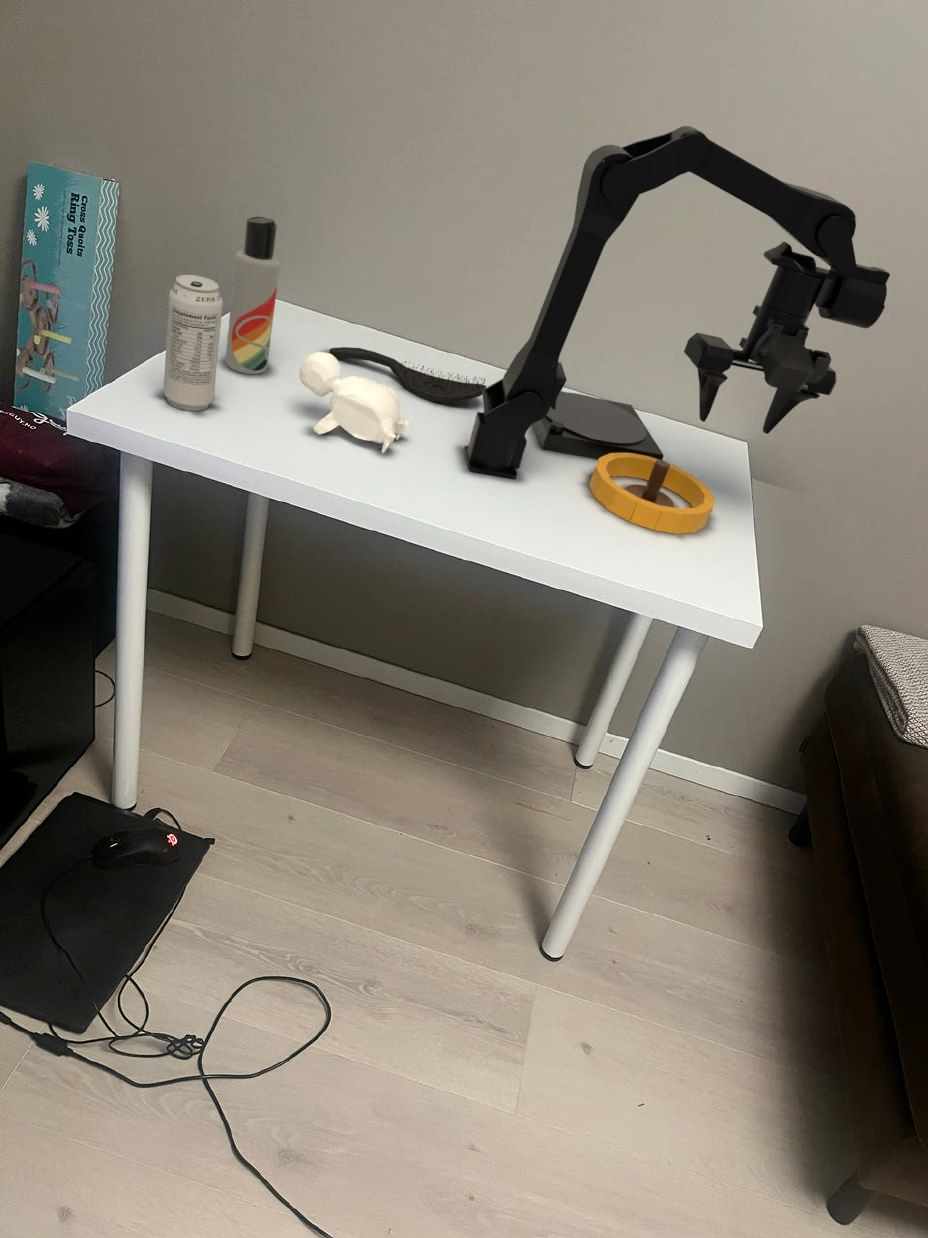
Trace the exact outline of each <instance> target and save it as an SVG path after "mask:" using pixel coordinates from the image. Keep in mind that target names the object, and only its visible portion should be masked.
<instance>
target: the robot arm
mask: <svg viewBox="0 0 928 1238" xmlns="http://www.w3.org/2000/svg"><path fill="white" fill-rule="evenodd" d="M687 173H691V174H693V175H695V176H696V177H699V178H700V179H702V180H704V181H706V182H708V183H709V184H711V185H712V186H715V187H716V188H718V189H720V190H721V191H724V192H725V193H727V194H729V195H731V196H732V197H734V198H736V199H738V200H739V201H741V202H743V203H744V204H747V205H748V206H750V207H751V208H754V210H755V209H756V210H757V211H759V212H760V213H762V214H765V215H767V216H768V217H769V218H770V220H772V221H773V222H774V223H775V224H776V225H777V226H779V228H780V229H782V230H783V231H784V232H785V233H786V234H787V235H788V236H790V237H791V238H792V239H793V240H794V241H795V242H797V243H798V244H799V245H800V246H802V247H803V248H805V249H806V250H807V251H809V252H810V253H811V254H813V255H814V256H815V257H817V258H818V259H820V260H821V261H822V262H824V263H825V264H827V266H829V269H828V268H823V267H821V266H817V263H816V259H815V258H814V257H813V256H811V255H807V254H803V253H799V252H796V251H793V248H792V245H791V244H789V243H788V242H786V241H781V243H780V244H778V245H777V246H775V247H772V248H770V249H768V250H765V251H764V253H763V258H764V259H765V260H767V261H768V262H769V263H770V264H771V265H773V266H777V267H776V269H775V271H774V274H773V276H772V279H771V280H770V283H769V285H768V288H767V290H766V293H765V296H764V297H763V300H762V302H761V305H758V304H755V305H754V308H753V311H752V314H753V315H754V317H755V319H754V321H753V323H752V325H751V328H750V330H749V333H748V335H747V336H746V337H741V339H740V341H739V344H738V346H739V347H740V348H741V349H742V350H741V349H735V348H732V347H731V346H730V345H729V344H728V343H727V342H726V341H725V340H724V339H723V338H722V337H720V336H715V335H710V334H706V333H701V332H696V333H695V334H693V335H692V336H690V337H689V339H688V340H687V342H686V345H685V347H684V349H683V353H684V354H685V355H686V357H688V358H689V360H690V362H691V363H692V364H693V365H694V367H696V368H697V377H698V390H699V393H698V394H699V395H698V396H699V397H698V398H699V405H698V406H699V408H698V409H699V420H700V422H704V423H705V422H706V420H707V419H708V417H709V415H710V414H711V413H710V412H711V410H712V408H713V405H714V402H715V401H716V397H717V395H718V392H719V390H720V387H721V385H722V384H723V383H725V382H726V381H727V380H728V376H727V375H726V374H725V372H726V371H728V370H730V369H731V366H735V367H739V368H742V369H743V368H744V369H748V370H752V371H758V372H763V374H764V377H763V378H764V381H765V383H766V384H767V385H768V386H770V387H771V388H776V390H775V393H774V396H773V398H772V401H771V403H770V406H769V408H768V411H767V414H766V416H765V418H764V423H763V426H762V432H763V433H764V434H766V435H768V434H769V433H771V432H772V431H773V430H774V429H775V427H776V426H777V425H779V423H781V422H782V420H783V419H784V418H785V417H786V416H787V415H788V414H789V413H790V412H791V411H792V410H793V409H795V408H796V407H797V406H798V405H799V404H800V403H802V402H805V401H808V400H811V399H814V400H816V399H819V398H820V397H821V396H820V395H825V396H831V394H832V392H833V391H834V388H835V386H836V385H837V373H836V371H835V370H834V369H833V368H831V367H830V365H831V363H832V358H831V354H830V352H828V351H824V350H823V351H822V350H819V349H812V348H811V349H810V348H808V347H807V348H806V340H807V338H808V335H809V330H810V327H809V326H807V325H806V324H807V322H808V319H809V317H810V315H811V312H812V310H813V308H814V306H815V307H816V308H818V309H817V310H818V314H819V317H820V318H822V319H826V320H829V321H834V322H837V323H841V324H844V325H845V324H846V325H849V326H854V327H857V328H861V329H869V328H871V327H872V326H873V325H874V324H875V323H877V321H878V320H879V319H880V317H881V315H882V313H883V312H884V310H885V308H886V305H885V304H886V303H885V302H886V299H887V294H888V289H887V282H888V280H889V278H890V276H891V274H890V273H889V272H888V271H887V270H885V269H884V268H881V267H877V266H866V265H862V264H859V263H857V261H856V253H855V249H854V241H853V237H855V236H854V235H855V233H856V228H857V222H856V221H857V220H856V217H857V216H856V213H855V212H854V211H853V210H852V209H851V208H850V207H849V206H847V205H846V204H845V203H842V202H841V201H839V200H837V199H835V198H833V197H832V196H830V195H828V194H826V193H822V192H820V191H816V190H813V189H810V188H807V187H804V186H800V185H796V184H791V183H789V182H785V181H782V180H780V179H779V178H777V177H776V176H773V175H772V174H770V173H768V172H766V171H764V170H763V169H761V168H760V167H758V166H757V165H754V164H753V163H751V162H749V161H747V160H745V159H744V158H742V157H741V156H739V155H737V154H735V153H733V152H732V151H730V150H728V149H726V148H725V147H723V146H722V145H720V144H718V143H716V142H715V141H713V140H711V139H710V138H708V137H707V135H706V134H704V133H703V132H702V131H700V130H699V129H697V128H695V127H693V126H690V125H684V126H680V127H678V128H676V129H674V130H672V131H669V132H667V133H664V134H660V135H656V136H653V137H649V138H646V139H642V140H638V141H634V142H632V143H630V144H627V145H625V146H622V147H621V146H620V145H615V144H606V145H602V146H599V147H598V148H596V149H594V150H592V152H590V153H589V155H588V156H587V158H586V160H585V161H584V165H583V168H582V172H581V177H580V181H579V186H578V192H577V197H576V205H575V213H574V218H573V219H574V220H573V225H572V229H571V231H570V234H569V237H568V238H567V241H566V244H565V246H564V249H563V252H562V255H561V257H560V258H559V262H558V265H557V268H556V270H555V272H554V275H553V278H552V280H551V282H550V285H549V288H548V291H547V293H546V296H545V299H544V301H543V303H542V306H541V308H540V311H539V314H538V316H537V318H536V321H535V324H534V326H533V329H532V332H531V334H530V337H529V339H528V340H527V341H526V342H525V344H524V345H523V346H522V348H520V350H519V351H518V352H517V353H516V354H515V356H514V358H513V360H512V361H511V363H510V364H509V366H508V368H507V369H506V371H505V373H504V374H503V377H502V378H501V379H499V380H498V381H496V382H494V383H493V384H490V385H489V386H486V388H485V389H484V390H483V391H482V395H481V397H482V405H483V412H480V411H477V412H476V415H475V419H474V423H473V426H472V430H471V433H470V438H469V442H468V445H465V446H464V448H463V452H464V456H465V459H466V460H465V461H466V463H467V467H468V470H469V471H472V472H476V473H482V474H487V475H493V476H499V477H505V478H511V479H516V478H517V477H518V471H517V470H518V469H519V468H520V467H521V463H522V460H523V457H524V453H525V451H526V447H527V443H528V440H527V438H526V434H527V431H528V430H529V429H530V428H531V426H533V425H532V423H535V422H537V421H539V420H542V419H543V418H544V417H545V416H546V415H547V413H548V412H549V409H550V406H551V408H552V409H553V410H555V409H556V400H557V397H558V395H559V393H560V391H562V390H563V388H564V387H565V385H566V382H567V376H566V373H565V369H564V367H563V364H562V362H560V361H559V360H560V355H561V353H562V351H563V348H564V345H565V343H566V341H567V339H568V336H569V334H570V331H571V329H572V326H573V323H574V321H575V319H576V317H577V314H578V311H579V309H580V307H581V304H582V302H583V299H584V297H585V294H586V292H587V289H588V287H589V285H590V282H591V280H592V277H593V275H594V272H595V270H596V267H597V265H598V263H599V260H600V258H601V255H602V254H603V251H604V248H605V246H606V244H607V242H608V241H609V239H610V238H611V237H612V235H614V233H615V232H616V231H617V230H618V228H619V227H620V226H621V225H622V223H624V221H625V219H626V218H627V217H628V215H629V213H630V211H631V209H632V208H633V206H634V204H635V203H636V201H637V200H638V198H639V196H640V195H642V194H645V193H647V192H649V191H652V190H655V189H657V188H659V187H661V186H664V184H666V183H668V182H670V181H672V180H674V179H675V178H678V177H679V176H681V175H684V174H687Z"/></svg>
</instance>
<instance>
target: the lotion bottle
mask: <svg viewBox="0 0 928 1238" xmlns="http://www.w3.org/2000/svg"><path fill="white" fill-rule="evenodd" d="M277 228H278V227H277V224H276V223H275V219H272V218H269V217H264V216H252V217H249V218H247V219H246V224H245V233H244V234H245V236H244V245H243V249H241V250H238V251H237V252H236V254H235V259H234V269H233V278H232V288H231V298H230V310H229V318H228V319H229V320H228V330H227V339H226V349H225V350H226V352H225V365H226V366H227V367H228V368H229V369H231V370H233V371H234V372H238V373H241V374H245V375H246V374H247V375H261V374H263V373H265V372H266V370H267V368H268V362H269V355H270V347H271V341H272V340H271V339H272V331H273V323H274V317H275V308H276V299H277V298H276V297H277V291H278V282H279V273H280V265H281V263H280V260H279V258H278V257H276V256H274V253H275V244H276V237H277Z"/></svg>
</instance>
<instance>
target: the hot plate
mask: <svg viewBox="0 0 928 1238" xmlns="http://www.w3.org/2000/svg"><path fill="white" fill-rule="evenodd" d="M531 426H532V427H533V429H534V432H535V434H536V437H537V439H538V442H539V445H540V447H541V449H542V450H547V451H550V452H551V451H552V452H558V453H563V454H569V455H572V456H573V455H574V456H580V457H585V458H591V459H597V460H598V459H599V458H600V457H602V456H605V455H607V454H610V453H634V454H639V455H645V456H649V457H652V458H655V459H658V460H663V459H664V457H665V454H664V453H663V452H662V450H661V448H660V446H658V445H659V444H657V442H656V441H655V439H654V437H653V436H652V435H651V433H650V431H649V430H648V428H647V427H646V425H645V424H644V422H643V420H642V419H641V417H640V416H639V414H638V413H637V411H636V410H635V408H634V407H633V405H632V404H628V403H623V402H619V401H613V400H608V399H603V398H598V397H597V398H596V397H593V396H590V395H585V394H581V393H577V392H567V391H562V390H561V391H560V393H559V395H558V397H557V400H556V409H555V410H553V409H552V408H551V406H550V409H549V412H548V413H547V415H546V416H545V417H544V418H543V419H542V420H539V421H537V422H535V423H532V425H531Z"/></svg>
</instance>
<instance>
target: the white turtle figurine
mask: <svg viewBox="0 0 928 1238" xmlns="http://www.w3.org/2000/svg"><path fill="white" fill-rule="evenodd" d="M342 371H343V370H342V366H341V364H340V362H339V360H338V358H337V357H334V356H333V355H332V354H330V353H329V352H325V351H317V352H313V353H311V354H308V355H307V357H306V358H305V360H304V361H303V363H302V364H301V365H300V368H299V380H300V382H301V384H302V385H303V386H304V388H306V389H308V390H310V391H311V392H312V393H313V394H314V395H315V396H317V397H321V398H322V397H325V396H326V395H328V394H330V393H331V392H332V394H331V396H330V401H329V407H330V409H329V410H330V412H329V413H328V414H326V415H325V416H324V417H323V418H321V419H320V420H318V422H317V423H316V424H315V425H314V427H313V432H314V433H315V434H317V435H323V434H326V433H328V432H331V431H332V430H334V429H336V428H337V427H339V426H341V427H342V428H343V430H345V431H346V432H348V434H350V435H352V437H354V438H356V439H360V440H363V441H369V442H374V443H376V444H383V445H382V449H381V453H382V454H385V453H386V451H387V450H388V448H389V447H390V445H391V444H392V443H393V442H394V440H396V441H398V440H399V439H400V438H401V436H402V435H403V433H404V432H405V431H406V429H407V428H408V426H409V425H410V422H409V421H408V420H405V419H404V418H405V417H404V413H403V410H402V407H401V403H400V400H399V396H398V395H397V394H396V391H394V390H393V389H392V388H391V387H389V386H388V385H384V384H381V383H378V382H375V381H374V380H371V379H368V378H366V377H363V376H356V375H351V376H346V377H344V378H342V379H341V375H342Z"/></svg>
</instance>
